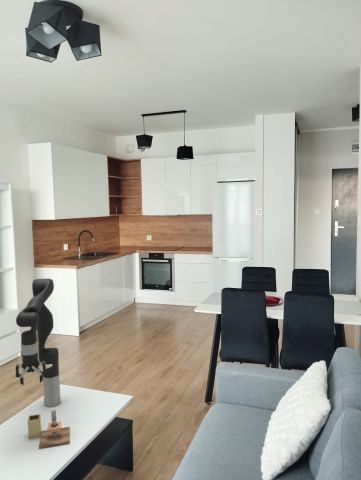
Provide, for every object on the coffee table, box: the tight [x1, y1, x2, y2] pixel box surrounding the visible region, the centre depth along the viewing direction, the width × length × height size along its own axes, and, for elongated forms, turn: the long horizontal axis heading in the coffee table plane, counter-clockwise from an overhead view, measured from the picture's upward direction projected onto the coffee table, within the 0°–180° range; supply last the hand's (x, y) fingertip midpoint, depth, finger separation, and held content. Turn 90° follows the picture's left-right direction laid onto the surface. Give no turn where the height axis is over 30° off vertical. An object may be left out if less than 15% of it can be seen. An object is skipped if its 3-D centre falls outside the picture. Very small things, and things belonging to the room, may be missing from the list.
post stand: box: [38, 410, 71, 450], centre depth 203 cm, size 14×14×14 cm
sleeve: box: [27, 413, 42, 439], centre depth 207 cm, size 6×6×9 cm
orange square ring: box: [46, 420, 62, 433], centre depth 203 cm, size 6×6×2 cm
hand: (31, 383), depth 205 cm, fingers open, 8 cm apart
